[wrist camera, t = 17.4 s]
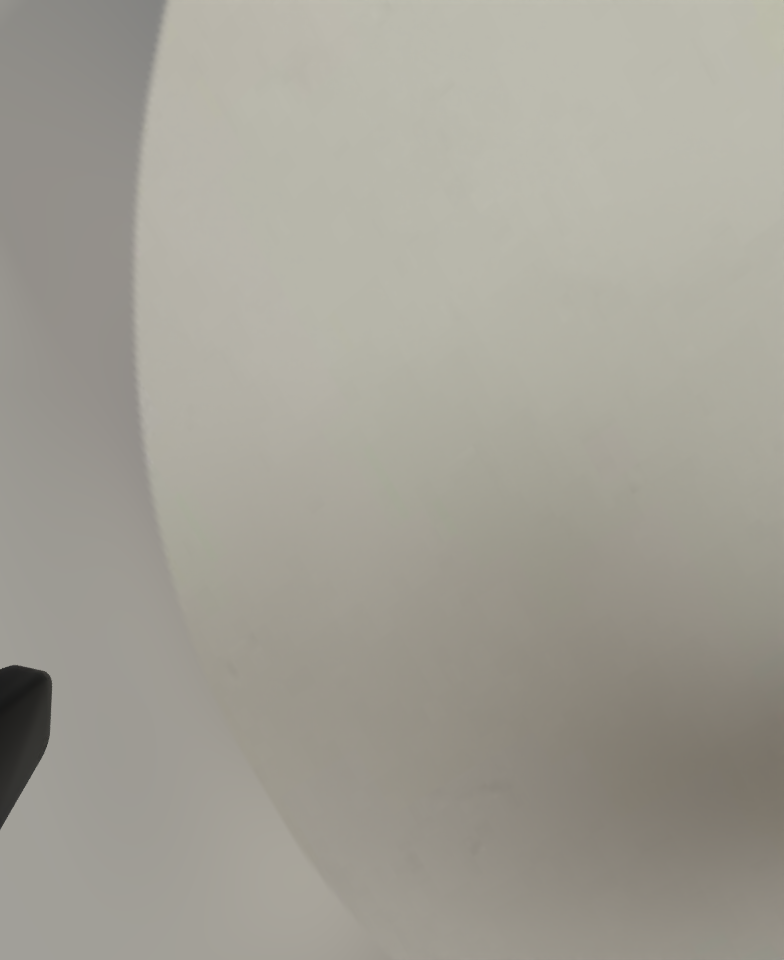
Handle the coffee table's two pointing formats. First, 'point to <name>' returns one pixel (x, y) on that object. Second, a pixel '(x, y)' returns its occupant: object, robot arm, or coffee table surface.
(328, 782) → the coffee table surface
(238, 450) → the coffee table surface
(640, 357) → the coffee table surface
